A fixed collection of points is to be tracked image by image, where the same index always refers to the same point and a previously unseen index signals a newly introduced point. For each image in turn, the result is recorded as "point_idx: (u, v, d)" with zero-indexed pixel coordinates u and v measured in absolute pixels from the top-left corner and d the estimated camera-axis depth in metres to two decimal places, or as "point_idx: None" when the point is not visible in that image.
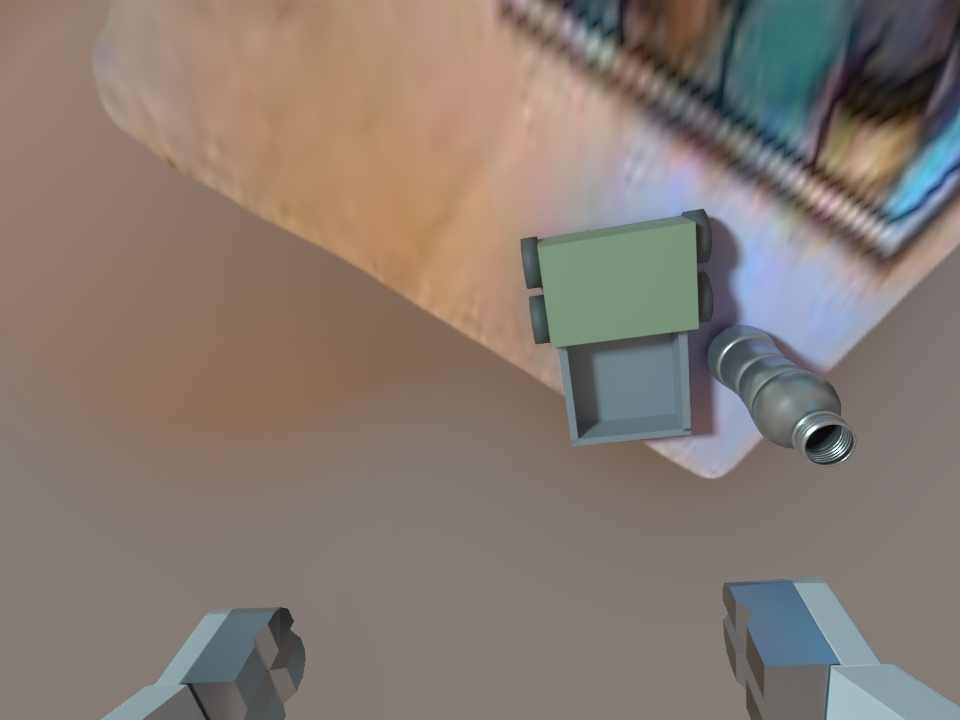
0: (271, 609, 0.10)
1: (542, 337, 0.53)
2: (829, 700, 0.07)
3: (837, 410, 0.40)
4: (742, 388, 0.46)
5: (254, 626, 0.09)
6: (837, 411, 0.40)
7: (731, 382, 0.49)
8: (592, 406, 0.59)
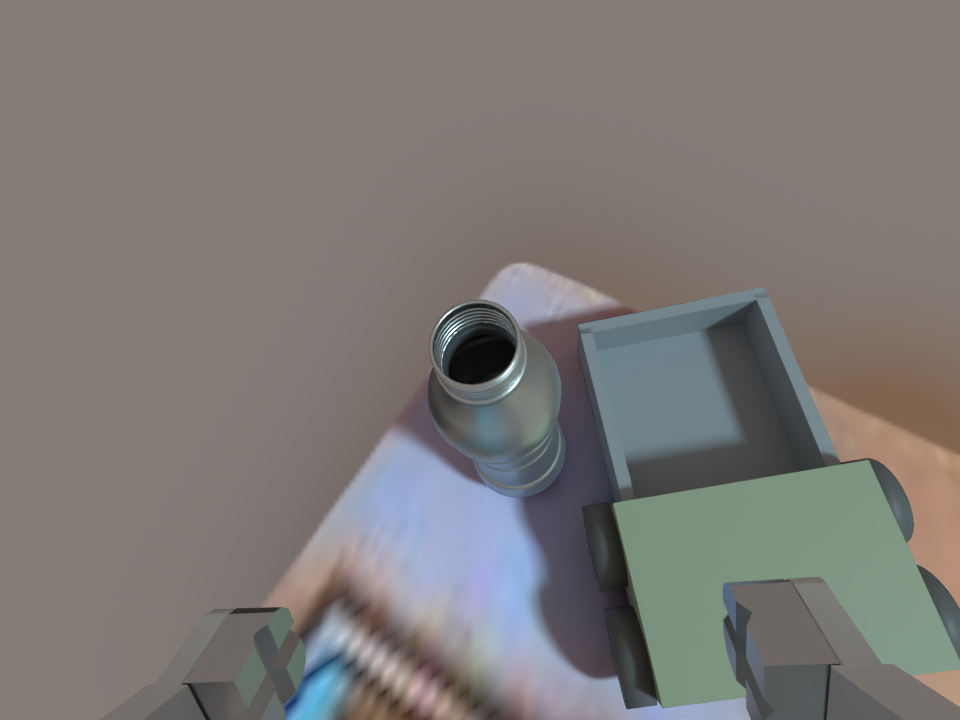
0: (271, 609, 0.10)
1: (876, 476, 0.29)
2: (829, 700, 0.07)
3: (443, 401, 0.22)
4: None
5: (254, 626, 0.09)
6: (443, 399, 0.22)
7: None
8: (721, 353, 0.37)
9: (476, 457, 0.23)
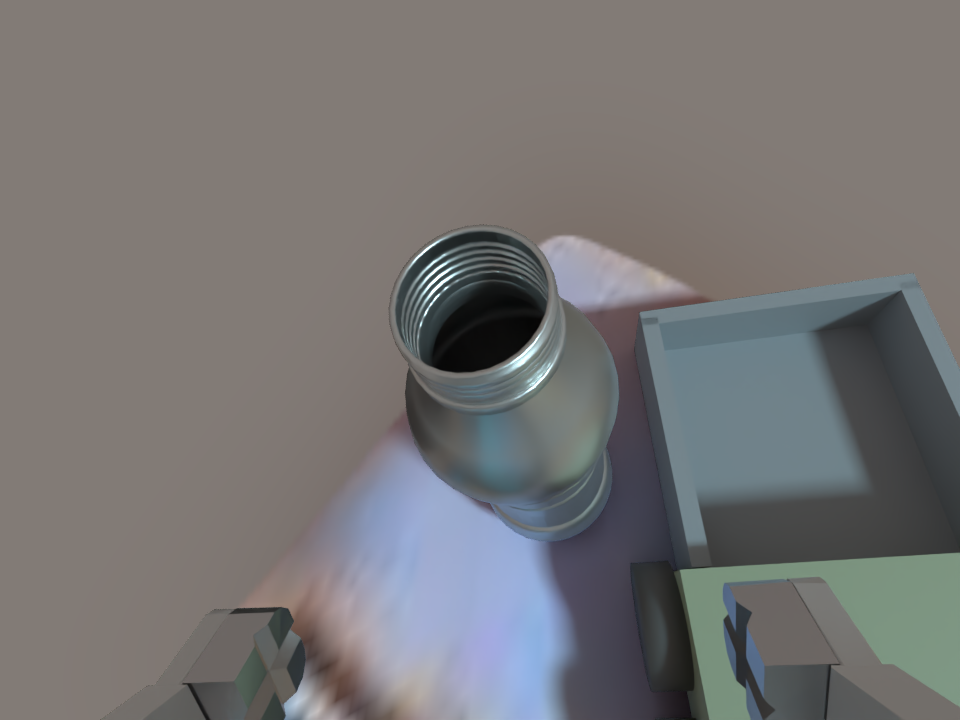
0: (271, 609, 0.10)
1: None
2: (829, 700, 0.07)
3: (422, 401, 0.14)
4: None
5: (254, 626, 0.09)
6: (422, 398, 0.13)
7: None
8: (837, 363, 0.27)
9: (472, 496, 0.14)
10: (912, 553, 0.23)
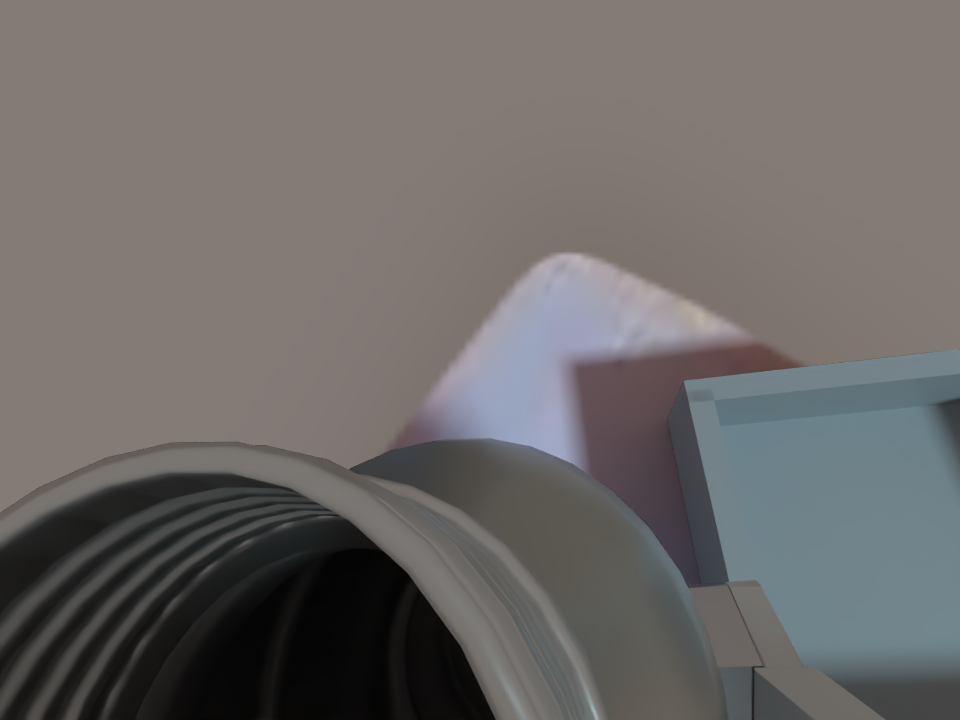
0: None
1: None
2: (754, 701, 0.07)
3: None
4: None
5: None
6: None
7: None
8: None
9: None
10: None
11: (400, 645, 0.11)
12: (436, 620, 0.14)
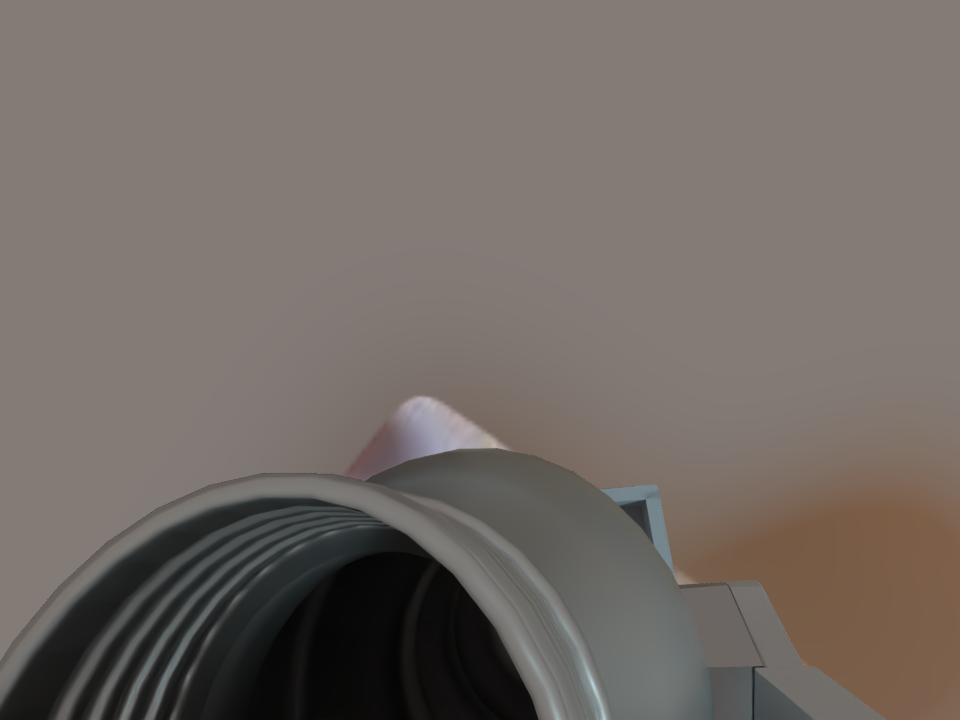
0: None
1: None
2: (754, 701, 0.07)
3: None
4: None
5: None
6: None
7: None
8: None
9: None
10: None
11: (411, 639, 0.12)
12: (443, 616, 0.15)
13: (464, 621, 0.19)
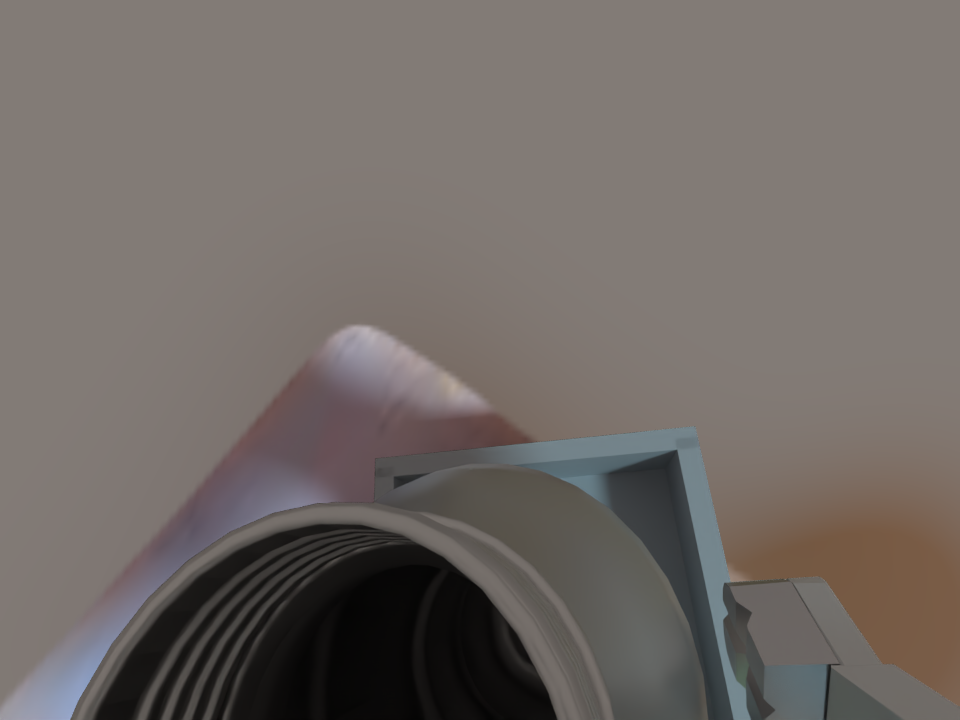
0: None
1: None
2: (829, 700, 0.07)
3: None
4: None
5: None
6: None
7: None
8: (624, 520, 0.22)
9: None
10: None
11: (421, 642, 0.13)
12: (450, 620, 0.16)
13: (469, 624, 0.20)
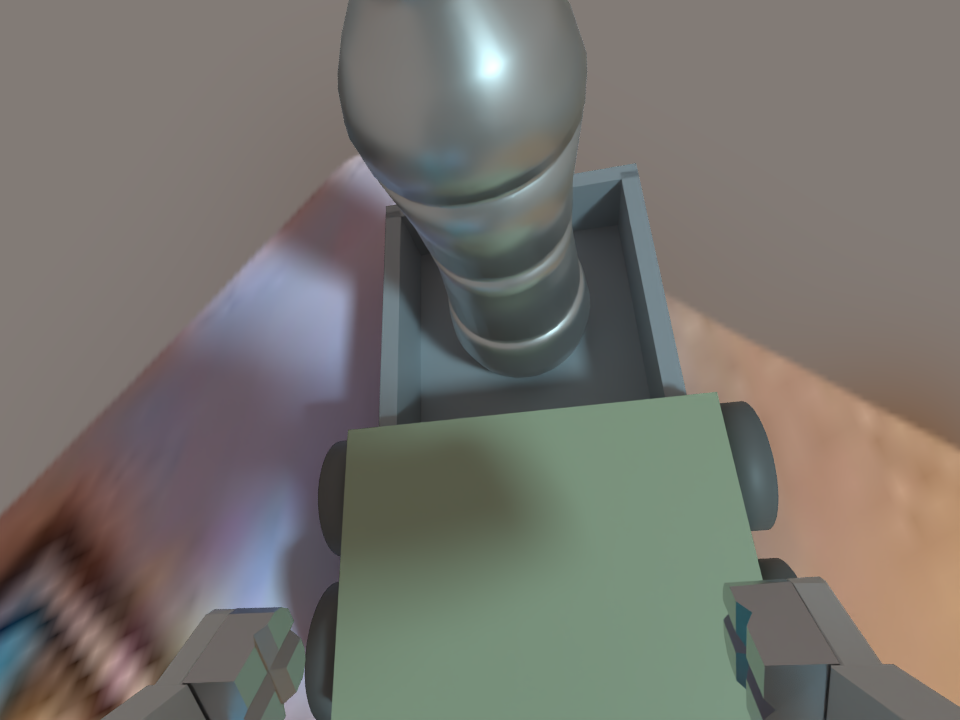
0: (271, 609, 0.10)
1: (735, 421, 0.19)
2: (829, 700, 0.07)
3: (349, 43, 0.11)
4: (572, 187, 0.16)
5: (254, 626, 0.09)
6: (349, 37, 0.11)
7: None
8: (583, 261, 0.27)
9: (412, 177, 0.12)
10: None
11: None
12: None
13: None
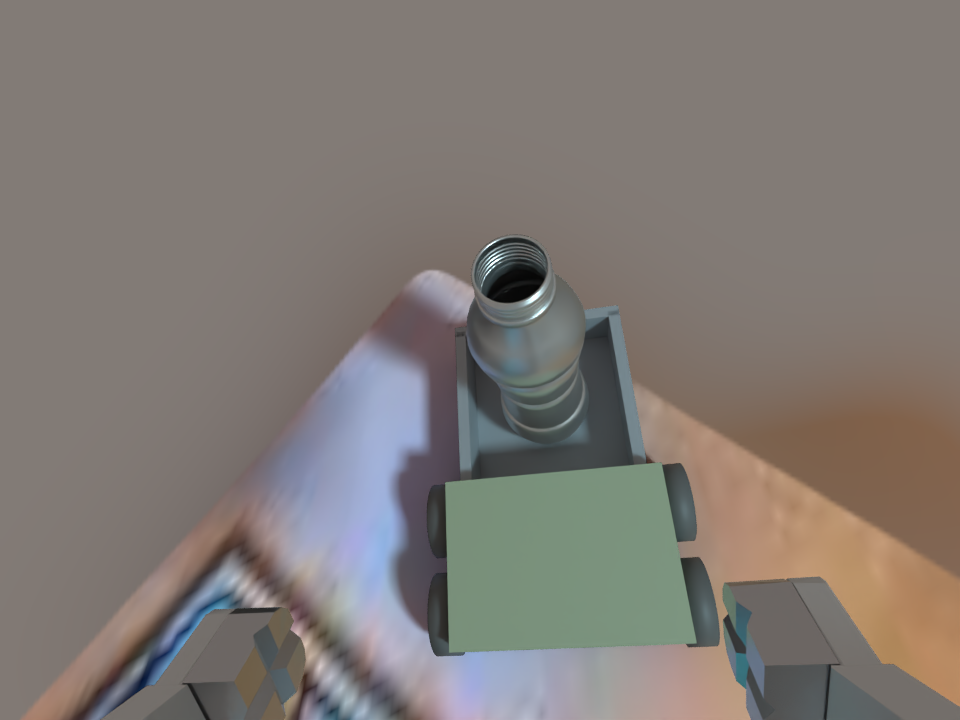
0: (271, 609, 0.10)
1: (673, 478, 0.33)
2: (829, 700, 0.07)
3: (479, 327, 0.25)
4: None
5: (254, 626, 0.09)
6: (480, 325, 0.25)
7: None
8: (585, 362, 0.41)
9: (505, 380, 0.26)
10: None
11: None
12: None
13: None
